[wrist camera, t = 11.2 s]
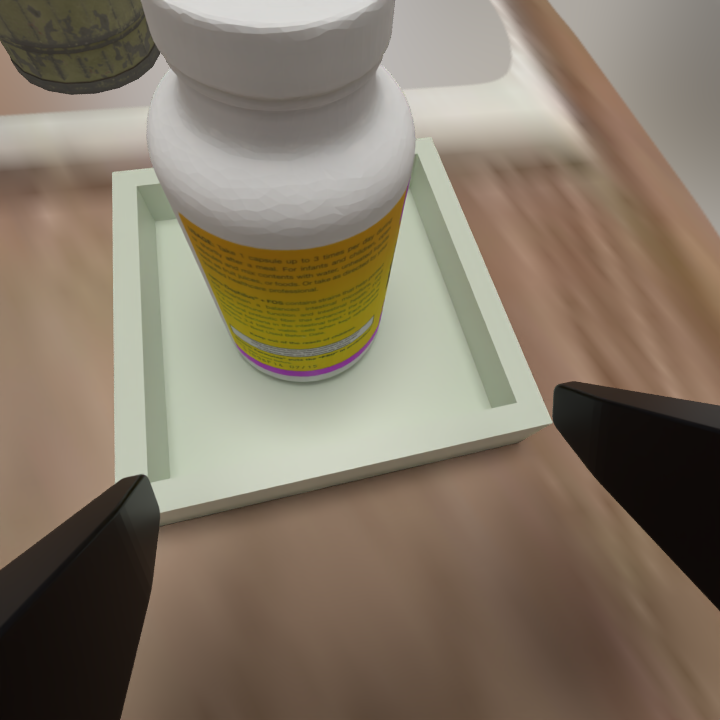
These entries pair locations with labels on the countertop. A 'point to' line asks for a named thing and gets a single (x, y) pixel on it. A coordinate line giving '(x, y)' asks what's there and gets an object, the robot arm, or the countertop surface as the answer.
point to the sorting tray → (314, 398)
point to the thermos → (77, 43)
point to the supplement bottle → (284, 169)
